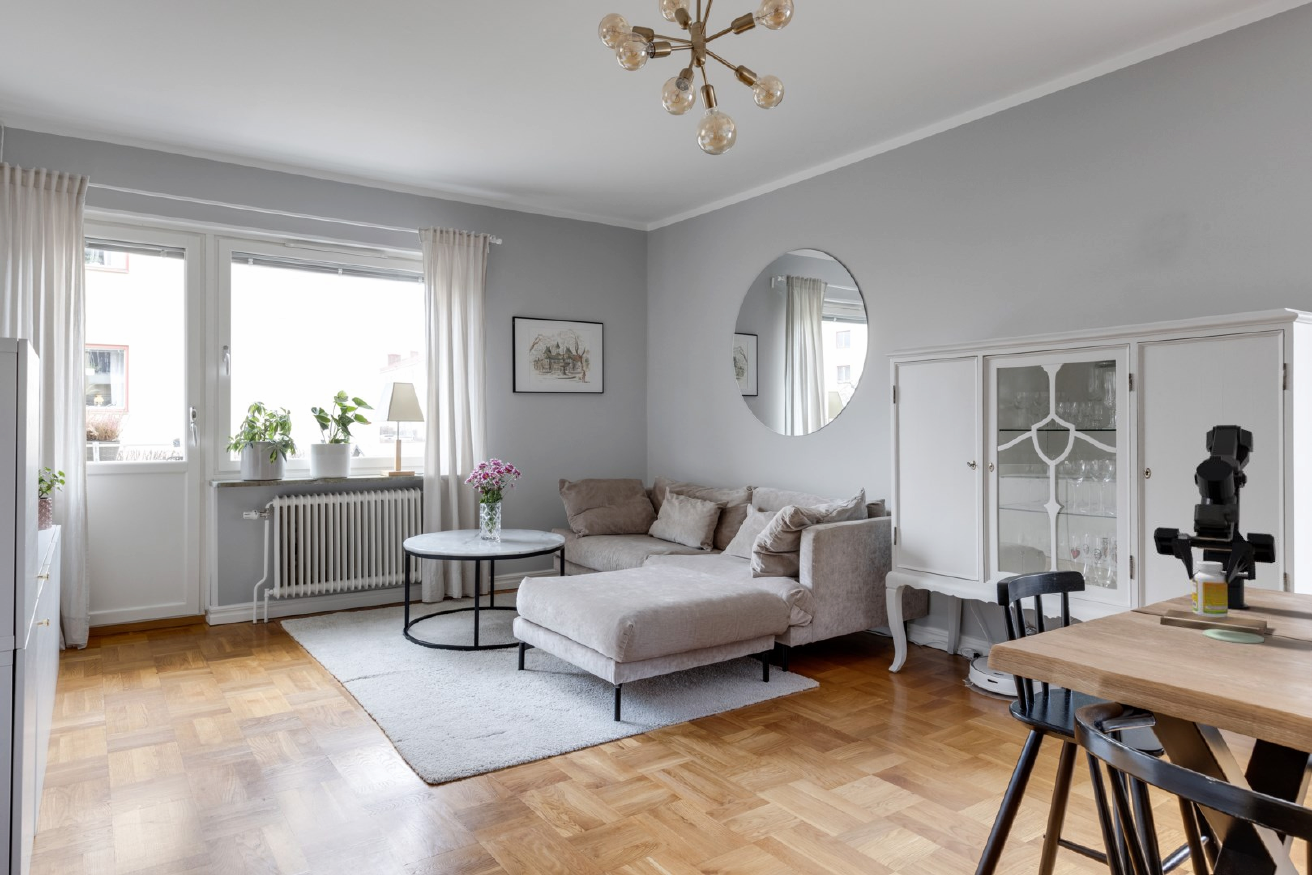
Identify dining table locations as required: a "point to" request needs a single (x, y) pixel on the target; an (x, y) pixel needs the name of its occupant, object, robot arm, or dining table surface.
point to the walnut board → (1213, 622)
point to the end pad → (1233, 636)
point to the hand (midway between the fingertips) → (1208, 580)
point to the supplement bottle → (1210, 590)
